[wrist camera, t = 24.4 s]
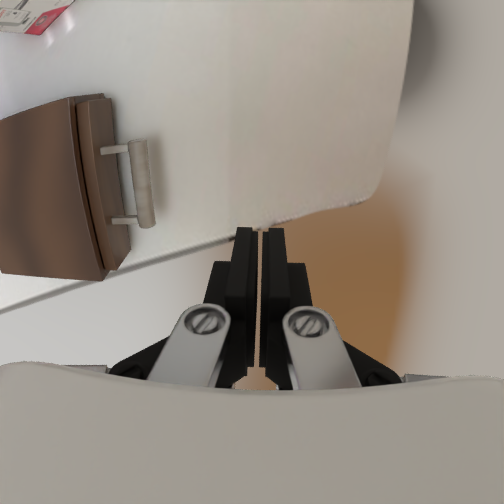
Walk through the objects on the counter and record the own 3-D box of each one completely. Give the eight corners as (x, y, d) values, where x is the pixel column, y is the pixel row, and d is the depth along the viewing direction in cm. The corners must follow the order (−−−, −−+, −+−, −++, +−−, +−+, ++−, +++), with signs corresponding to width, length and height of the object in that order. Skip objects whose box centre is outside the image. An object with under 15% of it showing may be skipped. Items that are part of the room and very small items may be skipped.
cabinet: (104, 93, 21) (68, 97, 16) (125, 250, 29) (102, 281, 24) (0, 123, 21) (-35, 135, 16) (27, 248, 29) (1, 273, 24)
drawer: (154, 90, 20) (135, 91, 17) (169, 249, 28) (157, 272, 24) (7, 126, 21) (-17, 134, 18) (34, 248, 28) (16, 265, 25)
